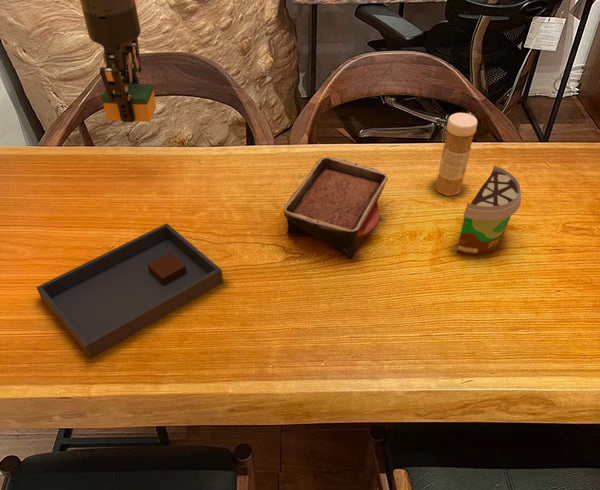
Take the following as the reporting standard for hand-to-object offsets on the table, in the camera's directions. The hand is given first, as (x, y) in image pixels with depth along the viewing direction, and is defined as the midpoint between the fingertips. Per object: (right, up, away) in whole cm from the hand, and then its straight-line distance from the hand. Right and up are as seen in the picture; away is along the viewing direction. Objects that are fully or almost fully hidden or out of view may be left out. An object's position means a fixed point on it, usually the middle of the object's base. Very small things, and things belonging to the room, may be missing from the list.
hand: (132, 112), depth 96 cm
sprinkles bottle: (+53, -12, +6) cm, 55 cm away
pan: (+4, -30, -12) cm, 32 cm away
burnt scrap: (+8, -27, -10) cm, 30 cm away
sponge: (0, 0, 0) cm, 0 cm away
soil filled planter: (+33, -19, -1) cm, 38 cm away
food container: (+57, -22, -4) cm, 61 cm away
